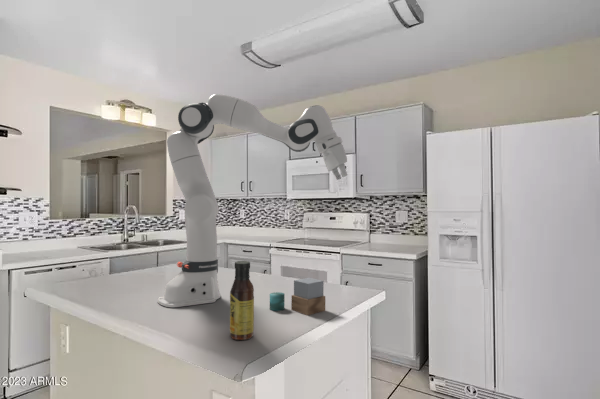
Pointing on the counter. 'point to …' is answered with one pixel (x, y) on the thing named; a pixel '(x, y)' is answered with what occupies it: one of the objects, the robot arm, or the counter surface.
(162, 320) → the counter surface
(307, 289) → the slate top block
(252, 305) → the sauce bottle
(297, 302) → the walnut base block
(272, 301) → the teal cylinder
